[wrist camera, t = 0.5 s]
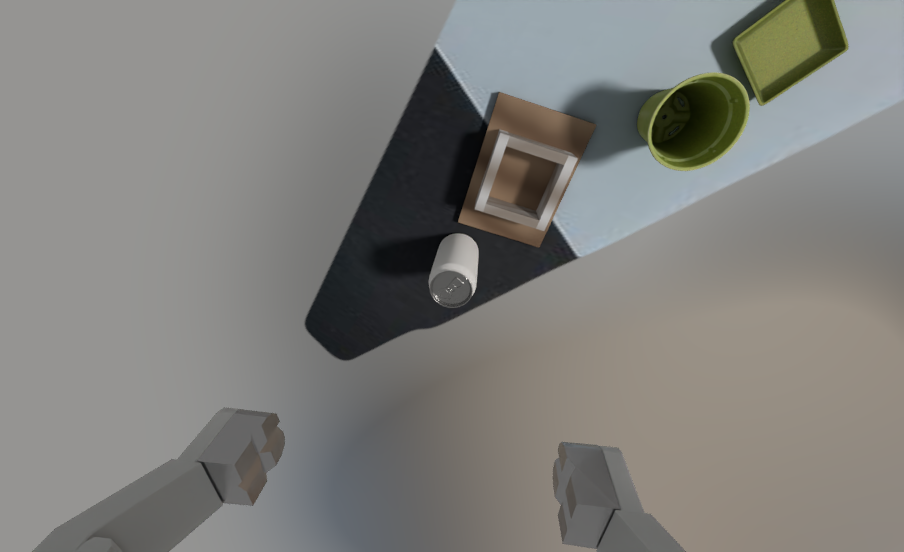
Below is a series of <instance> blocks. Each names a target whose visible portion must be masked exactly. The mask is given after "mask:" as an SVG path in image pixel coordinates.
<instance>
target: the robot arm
mask: <svg viewBox="0 0 904 552" xmlns="http://www.w3.org/2000/svg"><path fill="white" fill-rule="evenodd" d="M279 422H280V421H279V418H278V416H277V414H274V413H267V412H258V411H250V410H243V409H233V408H223V409H221V410H220V411H218V412H217V413H216V414H215V416H214V417H213V418H212V419H211V420H210V422H209V423H208V424H207V425H206V426H205V427H204V428H203V430H202V431H201V432H200V433H199V434H198V436H197V437H196V438H195V439H194V440H193V441H192V443H191V444H190V445H189V446H188V447H187V448H186V450H185V451H184V452H183V453H182V454H181V456H180V457H179V458H178V459H177V460H174V459H171V460H170V461H168V462H166V463H165V464H163V465H161V466H160V467H158V468H157V469H155V470H153V471H151V472H149V473H148V474H146V475H145V476H143V477H141V478H140V479H138V480H136V481H135V482H133V483H131V484H129V485H128V486H126V487H124V488H123V489H121V490H119V491H118V492H116V493H114V494H113V495H111V496H109V497H108V498H106V499H104V500H103V501H101V502H99V503H98V504H96V505H94V506H92V507H91V508H89V509H87V510H86V511H84V512H82V513H81V514H79V515H77V516H76V517H74V518H72V519H71V520H69V521H67V522H66V523H64V524H62V525H61V526H59V527H57V528H55V529H54V531H52V532H51V533H50V534H49V535H48V536H47V537H46V538H45V539H44V540H43V541H42V542H41V544H39V545H38V546H37V547H36V548H35V549H34V550H33V551H32V552H169V551H170V550H171V549H173V548H174V547H175V546H176V545H177V544H178V543H180V542H181V541H182V540H183V539H184V538H185V537H186V536H188V535H189V534H190V533H191V532H192V531H193V530H195V529H196V528H197V527H198V526H199V525H200V524H202V523H203V522H204V521H205V520H206V519H207V518H209V516H211V515H212V514H213V513H214V512H215V511H217V510H218V509H219V508H220V507H221V506H222V505H223V503H228V504H239V505H250V506H253V505H254V503H255V501H256V500H257V498H258V496H259V494H260V493H261V491H262V489H263V487H264V486H265V484H266V482H267V475H266V473H267V472H268V471H269V470H271V469H272V468H273V467H275V466H276V465H277V462H278V461H279V459H280V457H281V455H282V452H283V449H284V445H285V436H284V433H283V431H282V430H281V429H280V428H278V427H277V425H278V423H279ZM558 454H559V458H558V459H556V460H555V463H554V467H553V487H554V494H555V498H556V499H557V500H558V502H559V503H560V504H561V506H560V510H559V513H558V519H559V524H560V530H561V537H562V542H563V544H568V545H574V546H581V547H587V548H594V549H597V552H686V551H685V550H684V549H683V548H682V547H681V546H680V545H679V544H678V543H677V541H675V539H674V538H673V537H672V536H671V535H670V534H669V533H668V532H667V531H666V530H665V529H664V528H663V527H662V526H661V524H660V523H659V522H658V521H657V520H656V519H655V518H654V517H653V516H652V515H651V514H647V513H644V510H643V508H642V505H641V502H640V499H639V497H638V494H637V491H636V489H635V486H634V483H633V481H632V478H631V476H630V473H629V470H628V467H627V465H626V462H625V459H624V457H623V454H622V452H621V450H620V449H619V448H617V447H607V446H598V445H591V444H580V443H568V442H561V443H560V444H559V448H558Z"/></svg>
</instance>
